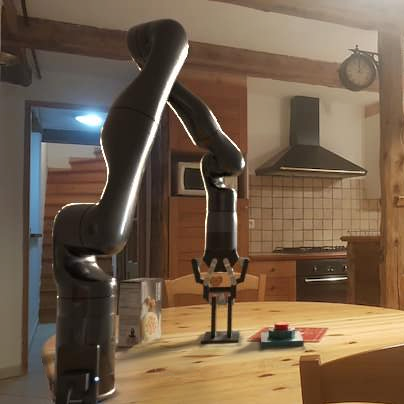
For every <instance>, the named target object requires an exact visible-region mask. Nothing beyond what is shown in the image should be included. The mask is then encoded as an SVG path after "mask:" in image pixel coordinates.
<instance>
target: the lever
mask: <svg viewBox="0 0 404 404" xmlns="http://www.w3.org/2000/svg"><path fill="white" fill-rule="evenodd" d="M230 291H231V286H210V287H209V293H210V294H217V309H228V295H224V294H230Z"/></svg>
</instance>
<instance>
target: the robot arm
mask: <svg viewBox="0 0 404 404" xmlns="http://www.w3.org/2000/svg"><path fill="white" fill-rule="evenodd" d="M125 45H126V49H127V51H128V54H129V55H130V57H131V59H132V60H133V62H134V63H135V64H136V66H137V67H138V69H139V70H140V71H139V73H138V74H137V75H136V76H135V77H134V78H133V79H132V80H131V81H130V82H129V83H128V85H126V86H125V87H124V88H123V90H121V92H120V93H119V94H118V95H117V97H115V99H114V100H113V102H112V103H111V105H110V107H109V109H108V112H107V115H106V117H105V120H104V122H103V124H102V125H103V126H102V128H101V130H100V145H101V150H102V154H103V157H104V160H105V163H106V167H107V178H106V179H107V180H106V183H105V186H104V189H103V192H102V195H101V197H100V200H99V201H98V202H86V203H85V202H81V203H79V202H78V203H77V202H76V203H69V204H66V205H65V206H63V207H62V208H61V209H60V210H59V211H58V212H57V214H56V216H55V218H54V221H53V224H52V232H51V233H52V234H51V247H52V248H51V253H52V256H51V257H52V259H51V260H52V261H51V262H52V278H53V281H54V284H55V286H56V291H57V292H56V318H55V319H56V320H55V342H54V343H55V344H54V346H55V347H54V348H55V349H54V369H53V393H52V402H53V403H54V404H97V403H99V402H101V401H104V400H107V399H109V398H111V397H113V396H114V395H115V393H116V386H115V381H116V380H115V379H116V378H115V376H116V349H117V348H116V342H117V315H118V314H117V311H118V281H117V278H115V277H114V276H113V275H110V274H109V273H106V272H105V271H104V270H103V269H102V268H101V267H100V266H99V264H98V261H97V257H112V256H114V255H117V254H118V253H120V252H121V251H122V250H123V249H124V248H125V246H126V244H127V242H128V240H129V237H130V235H131V231H132V227H133V223H134V219H135V214H136V208H137V204H138V199H139V194H140V188H141V185H142V181H143V177H144V175H145V171H146V167H147V164H148V160H149V157H150V155H151V152H152V149H153V147H154V143H155V140H156V138H157V135H158V132H159V128H160V124H161V121H162V118H163V115H164V111H165V108H166V105H167V104H168V105H169V107H170V108H171V109H172V110H173V112H174V113H175V114H176V116H177V118H178V119H179V120H180V122H181V124H182V125H183V128H184V129H185V131H186V132H187V134H188V136H189V138H190V139H191V141H192V143H193V144H194V145H195V146H196V147H197V149H200V150H203V151H206V152H205V153H204V154H203V155H202V157H201V160H200V172H201V176H202V180H203V184H204V188H205V191H206V216H205V226H204V227H205V228H204V229H205V233H204V234H205V235H204V254H203V255H202V256H200V257H194V258H192V259H191V261H190V262H191V266H192V272H193V275H194V281H195V283H196V284H200V285H202V287H203V288H202V298H203V299H204V300H205V301H206V302H210V300H211V293H209V287H211V285H210V282H211V279H212V277H213V275H214V273H215V274H216V273H226V274H227V275H228V278H229V280H230V287H231V291H230V293H229V294H230V301H233V300H234V301H235V299H237V295H238V294H237V293H238V288H237V287H238V285H239V284H243V283H245V279H246V275H247V272H248V268H249V264H250V258H249V257H242V256H240V255H239V254H238V229H239V228H238V227H239V226H238V215H237V212H238V211H237V209H238V207H237V205H238V202H237V201H238V195H237V191H236V189H234V188H231V187H227V186H226V185H225V183H224V180H223V179H227V178H228V179H229V178H237V177H240V176H241V175H242V174H243V172H244V170H245V164H246V163H245V158H244V155H243V153H242V152H241V150H240V149H239V148H238V146H237V145H236V144H235V143H234V142H233V141H232V140H231V139H230V138H229V137H228V135H227V134H225V132H223V131H222V129H221V126H220V125H219V123H218V122H217V119H216V117H215V116H214V114H213V112H212V111H211V109H210V108H209V106H208V105H207V104H206V102H204V101H203V100H202V99H201V98H200V97H199V96H198V95H196V94H195V93H194V92H192V91H191V90H190V89H189V88H187V86H185V85H184V84H183V83H182V82H181V81H179V79H178V76H179V74H180V71H181V69H182V67H183V65H184V63H185V60H186V58H187V56H188V49H189V38H188V35H187V31H186V29H185V27H184V26H183V25H182V24H181V22H179V21H178V20H175V19H173V18H159V19H154V20H150V21H146V22H142V23H138V24H135V25H132V26H130V28H128V30H127V31H126V35H125ZM202 262H204V264H205V265H206V266H207V268H208V270H207V272H206V274H205V278H203V277H202V274H201V269H200V267H202ZM238 262H239V266H240V267H242V268H241V272H240V275H239V277H238V278H237V277H236V275H235V272H234V269H233V268H234V267H235V265H236V264H237V263H238Z"/></svg>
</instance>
